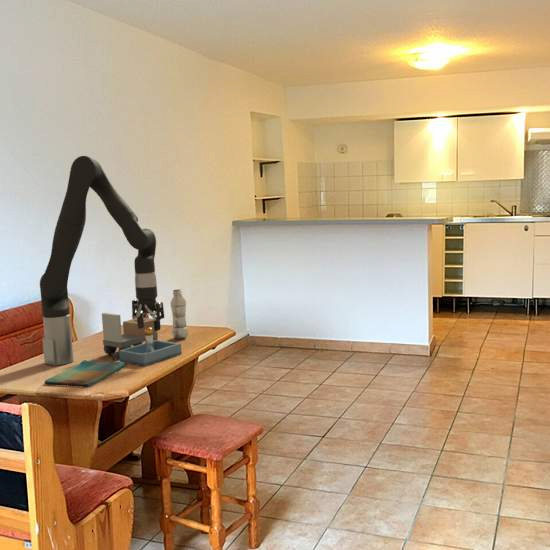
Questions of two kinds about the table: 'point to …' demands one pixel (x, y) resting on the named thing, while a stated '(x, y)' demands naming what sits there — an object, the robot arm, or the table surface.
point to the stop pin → (149, 339)
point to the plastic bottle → (179, 315)
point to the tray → (150, 353)
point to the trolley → (123, 341)
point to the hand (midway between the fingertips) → (149, 329)
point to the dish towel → (86, 374)
